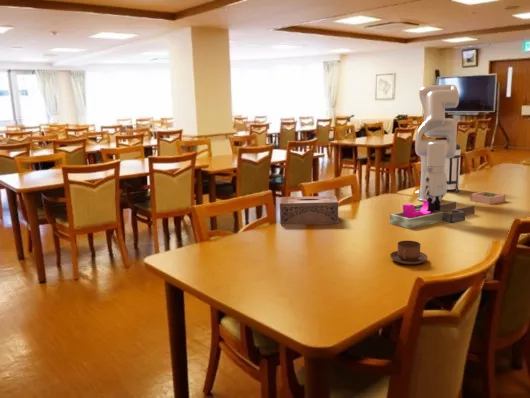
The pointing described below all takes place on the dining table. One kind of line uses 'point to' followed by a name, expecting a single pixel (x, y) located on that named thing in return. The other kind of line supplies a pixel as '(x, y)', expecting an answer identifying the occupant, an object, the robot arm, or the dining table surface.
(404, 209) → the toy block
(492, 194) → the seedling
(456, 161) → the lantern
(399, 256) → the cup and saucer
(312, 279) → the dining table surface
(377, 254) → the dining table surface
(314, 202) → the tissue box cover
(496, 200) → the planter frame
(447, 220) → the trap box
